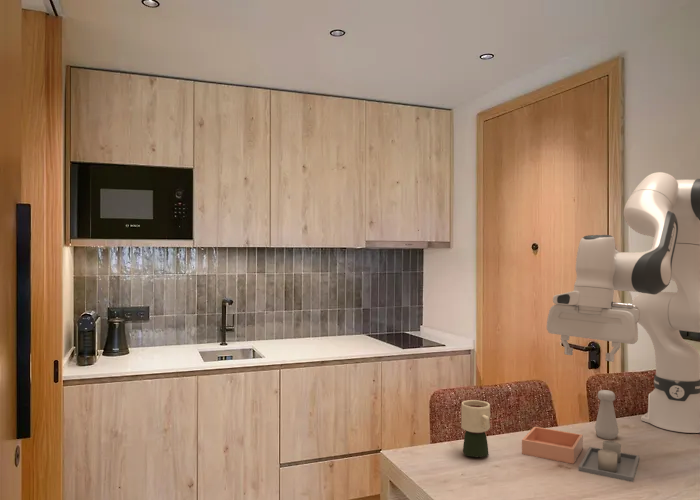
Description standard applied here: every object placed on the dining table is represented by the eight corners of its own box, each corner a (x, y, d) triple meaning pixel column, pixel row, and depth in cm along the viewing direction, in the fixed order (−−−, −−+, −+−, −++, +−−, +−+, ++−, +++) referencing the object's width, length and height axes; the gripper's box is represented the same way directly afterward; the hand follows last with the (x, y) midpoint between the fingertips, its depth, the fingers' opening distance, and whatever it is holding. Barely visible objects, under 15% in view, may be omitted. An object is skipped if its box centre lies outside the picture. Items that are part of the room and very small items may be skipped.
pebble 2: (599, 465, 130) (599, 448, 130) (618, 468, 127) (618, 451, 127) (596, 470, 126) (596, 453, 126) (616, 474, 124) (616, 457, 124)
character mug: (500, 461, 133) (500, 408, 133) (475, 465, 131) (475, 411, 131) (475, 446, 143) (475, 396, 143) (452, 449, 141) (452, 399, 141)
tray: (589, 452, 139) (589, 446, 139) (639, 461, 133) (639, 455, 133) (578, 472, 126) (578, 466, 126) (632, 483, 120) (632, 477, 120)
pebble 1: (603, 455, 135) (603, 439, 135) (621, 459, 133) (621, 442, 133) (601, 461, 132) (601, 444, 132) (619, 464, 130) (619, 447, 130)
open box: (534, 441, 147) (534, 426, 147) (582, 450, 140) (582, 434, 140) (521, 455, 137) (521, 439, 137) (573, 466, 130) (573, 449, 130)
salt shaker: (613, 435, 152) (613, 388, 152) (621, 442, 146) (621, 394, 146) (591, 434, 152) (591, 388, 152) (599, 441, 147) (599, 393, 147)
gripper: (643, 305, 128) (639, 364, 126) (555, 297, 141) (551, 351, 140) (637, 303, 123) (633, 365, 122) (546, 295, 136) (542, 351, 135)
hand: (588, 357), depth 131 cm, fingers open, 8 cm apart
